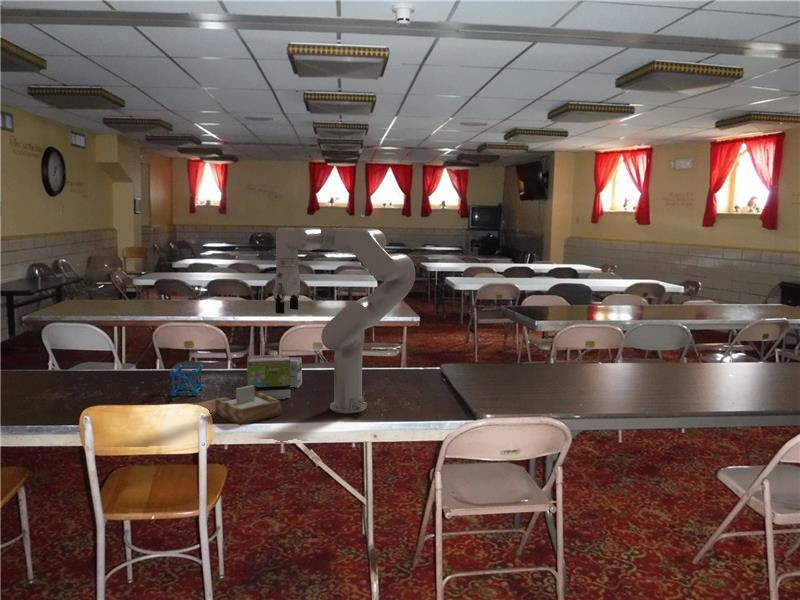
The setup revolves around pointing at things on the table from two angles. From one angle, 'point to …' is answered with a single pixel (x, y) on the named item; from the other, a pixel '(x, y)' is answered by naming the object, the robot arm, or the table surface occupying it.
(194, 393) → the molecular structure
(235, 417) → the oak box
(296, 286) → the robot arm
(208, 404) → the terracotta tile
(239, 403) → the cover plate
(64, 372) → the table surface
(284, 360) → the tea box
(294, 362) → the light bulb box
